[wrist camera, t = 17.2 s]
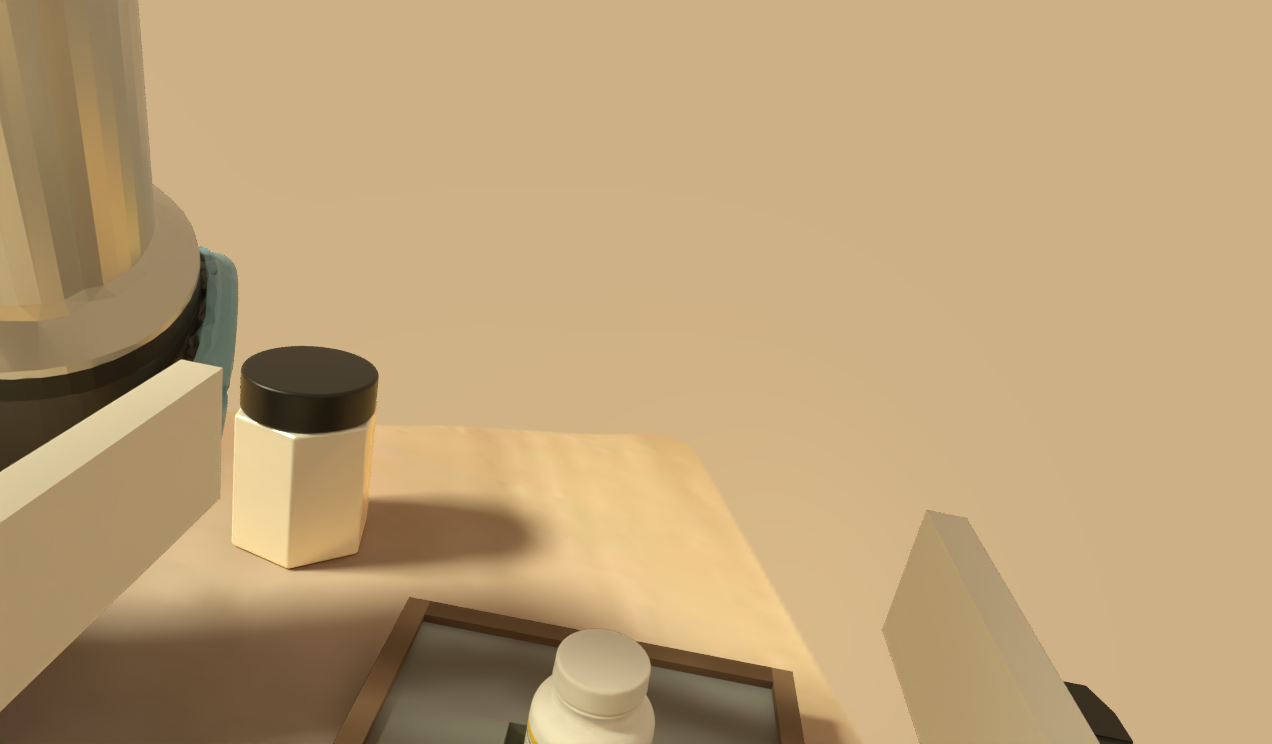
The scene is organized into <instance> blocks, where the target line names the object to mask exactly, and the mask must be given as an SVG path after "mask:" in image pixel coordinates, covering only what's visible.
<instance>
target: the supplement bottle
mask: <svg viewBox="0 0 1272 744" xmlns="http://www.w3.org/2000/svg"><path fill="white" fill-rule="evenodd" d="M650 672H651V664H650V659H649V657H648V655H647V653H646V651H645V650H644V649H643V648H642V647H641V646H640V645H639V644H638V643H637V642H636V641H634V640H633V639H631V638H630V637H628V636H626V635H624V634H621V633H618V632H615V631H611V630H606V629H586V630H581V631H578V632H575V633H573V634H571V635H569V636H568V637H566V638H565V639H564V640H563V641H562V642H561V644H560V645H559V647H558V650H557V653H556V659H555V663H554V667H553V672H552V675H551V676H550V677H548V678H547V679H546V680H545V681H544V682H543V683H542V684H541V685H540V686H539V688H538V689H537V691H536V693H535V695H534V697H533V700H532V703H531V708H530V712H529V717H528V723H527V730H526V736H525V742H524V744H652V741H653V735H654V729H655V716H654V711H653V708H652V705H651V703H650V701H649V699H648V697H647V696H646V694H647V690H648V683H649V677H650Z"/></svg>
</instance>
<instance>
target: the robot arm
mask: <svg viewBox="0 0 1272 744" xmlns="http://www.w3.org/2000/svg"><path fill="white" fill-rule="evenodd" d="M237 314H238V279H237V271H236V267H235V265H234V263H233V262H232V261H231V260H230V259H229V258H227V257H226V256H225V255H222V254H218V253H213V252H211V251H210V250H208V249H207V248H203V247H198V244H197V240H196V236H195V233H194V230H193V227H192V225H191V223H190V222H189V220H188V219H187V217H186V215H185V214H184V212H183V211H182V210H181V209H180V208H179V207H178V206H177V204H176V203H175V202H174V201H173V200H172V199H171V198H170V197H168V196H167V195H166V194H165V193H164V192H162V190H160V189H159V188H157V187H156V186H154V185H153V184H152V175H151V161H150V148H149V136H148V123H147V110H146V97H145V85H144V71H143V58H142V45H141V33H140V19H139V7H138V0H0V712H1V711H2V710H3V709H4V708H5V707H6V706H7V705H8V704H9V703H10V702H11V701H12V700H13V699H14V698H15V697H16V696H17V695H18V694H19V693H20V692H21V691H22V690H23V689H24V688H25V687H26V686H27V685H28V684H29V683H30V682H32V681H33V680H34V679H35V678H36V677H37V676H38V675H39V674H40V673H41V672H42V671H43V670H44V669H45V668H46V667H47V666H48V665H49V664H50V663H51V662H52V661H53V660H54V659H55V658H56V657H57V656H58V655H59V654H60V653H61V652H62V651H63V650H64V649H65V648H67V647H68V646H69V645H70V644H71V643H72V642H73V641H74V640H75V639H76V638H77V637H78V636H79V635H80V634H81V633H82V632H83V631H84V630H85V629H86V628H87V627H88V626H89V625H90V624H91V623H92V622H93V621H94V620H95V619H96V618H97V617H98V616H99V615H101V614H102V613H103V612H104V611H105V610H106V609H107V608H108V607H109V606H110V605H111V604H112V603H113V602H114V601H115V600H116V599H117V598H118V597H119V596H120V595H121V594H122V593H123V592H124V591H125V590H126V589H127V588H128V587H129V586H130V585H131V584H132V583H133V582H134V581H136V580H137V579H138V578H139V577H140V576H141V575H142V574H143V573H144V572H145V571H146V570H147V569H148V568H149V567H150V566H151V565H152V564H153V563H154V562H155V561H156V560H157V559H158V558H159V557H160V556H161V555H162V554H163V553H164V552H165V551H166V550H167V549H168V548H170V547H171V546H172V545H173V544H174V543H175V542H176V541H177V540H178V539H179V538H180V537H181V536H182V535H183V534H184V533H185V532H186V531H187V530H188V529H189V528H190V527H191V526H192V525H193V524H194V523H195V522H196V521H197V520H198V519H199V518H200V517H201V516H202V515H204V514H205V513H206V512H207V511H208V510H209V509H210V508H211V507H212V506H213V505H214V504H215V503H216V502H217V501H218V500H219V499H220V484H221V439H222V435H223V429H224V424H225V418H226V411H227V397H228V396H227V390H228V388H229V385H230V377H231V373H232V369H233V361H234V352H235V342H236V329H237ZM882 631H883V634H884V637H885V640H886V643H887V646H888V649H889V652H890V655H891V658H892V661H893V664H894V667H895V670H896V673H897V676H898V679H899V682H900V685H901V688H902V691H903V694H904V697H905V700H906V703H907V706H908V709H909V712H910V715H911V719H912V721H913V724H914V728H915V731H916V734H917V737H918V740H919V743H920V744H1133V741H1132V739H1131V738H1130V736H1129V735H1128V733H1127V731H1126V730H1125V728H1124V727H1123V725H1122V724H1121V722H1120V720H1119V719H1118V717H1117V716H1116V714H1115V713H1114V712H1113V711H1112V710H1111V709H1110V708H1109V707H1107V705H1106V704H1105V703H1104V702H1102V701H1101V700H1100V699H1099V698H1098V697H1097V696H1096V695H1095V694H1094V693H1093V692H1092V691H1091V690H1090V689H1089V688H1088V687H1087V686H1084V685H1079V684H1074V683H1069V682H1064V681H1063V680H1062V679H1061V677H1060V675H1059V674H1058V672H1057V670H1056V669H1055V667H1054V665H1053V663H1052V662H1051V660H1050V658H1049V657H1048V655H1047V653H1046V652H1045V650H1044V648H1043V646H1042V645H1041V643H1040V641H1039V640H1038V638H1037V636H1036V635H1035V633H1034V631H1033V629H1032V628H1031V626H1030V624H1029V623H1028V621H1027V619H1026V618H1025V616H1024V614H1023V612H1022V611H1021V609H1020V608H1019V606H1018V604H1017V602H1016V601H1015V599H1014V597H1013V596H1012V594H1011V592H1010V590H1009V589H1008V587H1007V585H1006V584H1005V582H1004V580H1003V579H1002V577H1001V575H1000V573H999V572H998V570H997V568H996V567H995V565H994V563H993V562H992V561H991V558H990V557H989V555H988V553H987V552H986V550H985V548H984V547H983V545H982V543H981V541H980V540H979V538H978V536H977V534H976V533H975V531H974V529H973V528H972V526H971V524H970V523H969V521H968V519H967V518H964V517H959V516H954V515H949V514H944V513H940V512H935V511H930V510H926V512H925V515H924V518H923V520H922V523H921V526H920V528H919V531H918V534H917V537H916V539H915V543H914V545H913V548H912V550H911V553H910V556H909V558H908V561H907V564H906V567H905V569H904V572H903V575H902V577H901V580H900V583H899V586H898V588H897V591H896V594H895V597H894V600H893V602H892V605H891V607H890V610H889V613H888V615H887V618H886V621H885V624H884V627H883V630H882Z"/></svg>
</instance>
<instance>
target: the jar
mask: <svg viewBox="0 0 1272 744" xmlns="http://www.w3.org/2000/svg"><path fill="white" fill-rule="evenodd" d="M240 388H241V395H240V397H241V398H240V406H241V407H240V409H239V411H238V412H237V414H236V415H235V432H234V471H233V510H232V544H233V545H235V546H237V547H239V548H241V549H244V550H246V551H248V552H251V553H253V554H255V555H257V556H260V557H262V558H264V559H266V560H269V561H271V562H273V563H276V564H278V565H280V566H282V567H285V568H288V569H290V568H294V567H299V566H303V565H307V564H312V563H316V562H321V561H325V560H330V559H334V558H338V557H343V556H347V555H352V554H355V553H357V552H358V549H359V545H360V541H361V537H362V534H363V530H364V526H365V522H366V518H367V510H368V499H369V488H370V476H371V465H372V454H373V443H374V431H375V419H376V407H377V401H376V398H377V388H378V371H377V370H376V368H375V367H374V366H373V364H371V363H370V362H369V361H367V360H365V359H364V358H362V357H359V356H357V355H355V354H352V353H349V352H345V351H341V350H337V349H331V348H324V347H314V346H291V347H281V348H275V349H270V350H266V351H263V352H260V353H257V354H255V355H253V356H251V357H250V358H248V359H247V360H246V361H245V362H244V364H243V365H242V368H241V386H240Z"/></svg>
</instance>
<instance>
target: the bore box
mask: <svg viewBox="0 0 1272 744" xmlns="http://www.w3.org/2000/svg"><path fill="white" fill-rule="evenodd" d="M578 631H581V630H576V629H571V628H566V627H560V626H555V625H550V624H545V623H540V622H535V621H530V620H525V619H519V618H514V617H509V616H504V615H499V614H494V613H489V612H484V611H478V610H473V609H468V608H463V607H458V606H453V605H448V604H443V603H437V602H432V601H427V600H422V599H417V598H412V597H409V599H408V601H407V603H406V605H405V607H404V609H403V611H402V612H401V614H400V616H399V618H398V620H397V622H396V624H395V626H394V628H393V630H392V632H391V634H390V635H389V637H388V639H387V641H386V643H385V645H384V647H383V649H382V651H381V653H380V655H379V657H378V658H377V660H376V662H375V664H374V666H373V668H372V670H371V672H370V674H369V676H368V678H367V680H366V681H365V683H364V685H363V687H362V689H361V691H360V693H359V695H358V697H357V699H356V701H355V703H354V704H353V706H352V708H351V710H350V712H349V714H348V716H347V718H346V720H345V722H344V724H343V726H342V727H341V729H340V731H339V733H338V735H337V737H336V739H335V741H334V743H333V744H524V742H525V736H526V730H527V723H528V717H529V712H530V708H531V703H532V700H533V697H534V695H535V693H536V691H537V689H538V688H539V686H540V685H541V684H542V683H543V682H544V681H545V680H546V679H547V678H548V677H550V676H551V675H552V672H553V667H554V663H555V659H556V653H557V650H558V647H559V645H560V644H561V642H562V641H563V640H564V639H565V638H566V637H568V636H569V635H571V634H573V633H575V632H578ZM636 642H637V641H636ZM637 643H638V644H639V645H640V646H641V647H642V648H643V649H644V650H645V651H646V653H647V655H648V657H649V659H650V664H651V672H650V677H649V683H648V690H647V694H646V696H647V697H648V699H649V701H650V703H651V705H652V708H653V711H654V716H655V729H654V735H653V741H652V744H805V743H804V738H803V732H802V726H801V720H800V714H799V708H798V702H797V696H796V690H795V684H794V678H793V672H791V671H786V670H781V669H776V668H771V667H766V666H760V665H755V664H750V663H745V662H740V661H735V660H730V659H725V658H719V657H714V656H709V655H704V654H699V653H694V652H689V651H684V650H678V649H673V648H668V647H663V646H658V645H653V644H648V643H643V642H637Z"/></svg>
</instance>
